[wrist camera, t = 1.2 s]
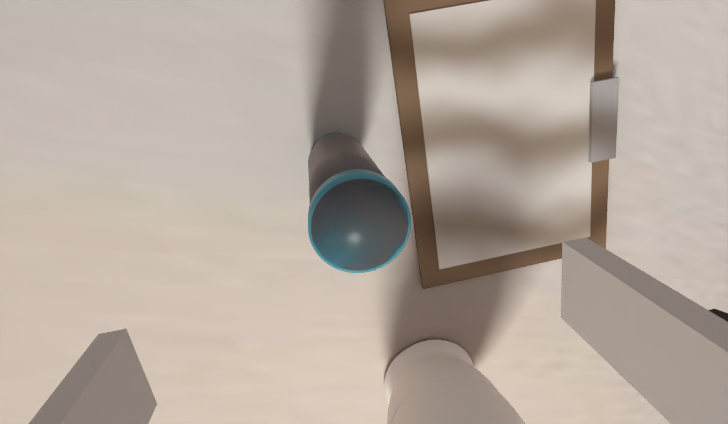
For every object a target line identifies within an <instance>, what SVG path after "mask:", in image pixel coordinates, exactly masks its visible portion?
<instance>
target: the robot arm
mask: <svg viewBox="0 0 728 424" xmlns="http://www.w3.org/2000/svg"><path fill="white" fill-rule="evenodd" d="M561 318H562V319H563V320H564V321H565V322H566V323H567V324H568V325H569V326H571V327H572V328H573V329H574V330H575V331H576V332H577V333H578V334H579V335H580V336H581V337H582V338H583V339H584V340H585V341H586V342H587V343H588V344H589V345H590V346H591V347H592V348H593V349H594V350H595V351H596V352H597V353H598V354H600V355H601V356H602V357H603V358H604V359H605V360H606V361H607V362H608V363H609V364H610V365H611V366H612V367H613V368H614V369H615V370H616V371H617V372H618V373H619V374H620V375H621V376H622V377H623V378H624V379H625V380H626V381H627V382H629V383H630V384H631V385H632V386H633V387H634V388H635V389H636V390H637V391H638V392H639V393H640V394H641V395H642V396H643V397H644V398H645V399H646V400H647V401H648V402H649V403H650V404H651V405H652V406H653V407H654V408H655V409H656V410H658V411H659V412H660V413H661V414H662V415H663V416H664V417H665V418H666V419H667V420H668V421H669V422H670V423H671V424H728V313H725V312H722V311H719V310H717V309H712V310H707V309H705V308H703V307H702V306H700V305H698V304H697V303H695V302H693V301H692V300H690V299H688V298H687V297H685V296H683V295H682V294H680V293H678V292H677V291H675V290H673V289H672V288H670V287H668V286H667V285H665V284H663V283H661V282H660V281H658V280H656V279H655V278H653V277H651V276H650V275H648V274H646V273H645V272H643V271H641V270H640V269H638V268H636V267H635V266H633V265H631V264H630V263H628V262H626V261H625V260H623V259H621V258H620V257H618V256H616V255H615V254H613V253H611V252H610V251H608V250H606V249H604V248H603V247H601V246H599V245H598V244H596V243H594V242H593V241H591V240H589V239H588V238H586V237H585V238H580V239H575V240H570V241H565V242H562V286H561ZM156 405H157V403H156V400H155V398H154V395H153V393H152V390H151V388H150V385H149V383H148V381H147V378H146V376H145V373H144V371H143V368H142V366H141V363H140V361H139V359H138V356H137V354H136V351H135V349H134V346H133V344H132V342H131V339H130V337H129V334H128V332H127V329H123V330H118V331H113V332H107V333H102V334H98V336H97V337H96V338H95V339H94V341H93V342H92V343H91V345H90V346H89V347H88V348H87V350H86V351H85V352H84V354H83V355H82V356H81V357H80V359H79V360H78V361H77V363H76V364H75V365H74V366H73V368H72V369H71V370H70V372H69V373H68V374H67V375H66V377H65V378H64V379H63V381H62V382H61V383H60V384H59V386H58V387H57V388H56V390H55V391H54V392H53V393H52V395H51V396H50V397H49V399H48V400H47V401H46V402H45V404H44V405H43V406H42V408H41V409H40V410H39V411H38V413H37V414H36V415H35V417H34V418H33V419H32V420H31V422H30V423H29V424H148V423H149V421H150V418H151V416H152V414H153V412H154V409H155V407H156Z"/></svg>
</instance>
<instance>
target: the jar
mask: <svg viewBox="0 0 728 424" xmlns="http://www.w3.org/2000/svg"><path fill="white" fill-rule="evenodd" d="M384 391H385V395H386V398H387V400H388V402H389V407H388V418H387V424H525V423H524V421H523V420H522V419H521V417H520V416H519V414H518V413H517V412H516V411H515V409H514V408H513V407H512V406H511V404H510V403H509V402H508V401H507V400H506V399H505V398H504V397H503V396H502V395H501V394H500V393H499V392H498V390H497V389H496V388H495V387H494V385H493V384H492V383H491V382H490V381H489V380H488V379H487V378H486V377H485V376H484V375H483V374H482V373H481V372H480V371H479V370H477V369H476V368H475V367H474V366H473V362H472V360H471V358H470V356H469V355H468V353H467V352H466V351H465V350H464V349H463V348H461V347H460V346H458V345H457V344H455V343H452V342H450V341H445V340H427V341H422V342H419V343H416V344H414V345H412V346H410V347H408V348H406V349H405V350H404V351H402V352H401V353H400V354H399V355H398V356H397V357H396V358H395V359H394V360H393V361H392V363H391V364H390V366H389V368H388V370H387V372H386V375H385V380H384Z"/></svg>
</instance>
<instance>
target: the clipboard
mask: <svg viewBox="0 0 728 424" xmlns="http://www.w3.org/2000/svg"><path fill="white" fill-rule="evenodd" d="M383 1H384V8H385V15H386V23H387V30H388V38H389V45H390V52H391V60H392V67H393V74H394V82H395V89H396V97H397V104H398V111H399V119H400V126H401V133H402V141H403V148H404V156H405V163H406V170H407V178H408V185H409V193H410V200H411V207H412V215H413V222H414V229H415V237H416V244H417V252H418V259H419V266H420V274H421V281H422V287H423V289H425V288H429V287H434V286H438V285H443V284H448V283H452V282H457V281H461V280H466V279H470V278H475V277H479V276H484V275H488V274H493V273H497V272H502V271H506V270H511V269H515V268H520V267H524V266H529V265H533V264H538V263H542V262H547V261H551V260H556V259H560V258H562V242H565V241H570V240H575V239H580V238H585V237H586V238H588V239H589V240H591V241H593V242H594V243H596V244H598V245H599V246H601V247H603V248H604V249H606V224H607V198H608V172H609V159H612V158H616V135H617V112H618V90H619V77H612V68H613V42H614V16H615V0H383Z"/></svg>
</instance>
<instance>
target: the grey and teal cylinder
mask: <svg viewBox="0 0 728 424" xmlns="http://www.w3.org/2000/svg"><path fill="white" fill-rule="evenodd" d="M308 169H309V194H310V206H309V211H308V231H309V237H310V241H311V244H312V246H313V248H314V250H315V251H316V253H317V254H318V255H319V256H320V258H321V259H322V260H324V261H325V262H326V263H327V264H329V265H330V266H332V267H334V268H336V269H338V270H341V271H345V272H350V273H364V272H370V271H373V270H376V269H379V268H381V267H383V266H385V265H386V264H388V263H389V262H391V261H392V260H393V259H394V258H395V257H396V256H397V255H398V254H399V253H400V252H401V250H402V249H403V247H404V246H405V244H406V242H407V240H408V237H409V233H410V228H411V216H410V211H409V208H408V205H407V203H406V201H405V199H404V198H403V196H402V195H401V193H400V192H399V191H398V190H397V188H396V187H395V186H394V185H393V184H392V183H391V182H390V181H389V180H388V179H387V178H386V177H385V176H384V175H383V174H382V172H381V171H380V170H379V168H378V167H377V166H376V164H375V163H374V162H373V160H372V159H371V158H370V156H369V155H368V154H367V152H366V151H365V150H364V148H363V147H362V146H361V144H360V143H359V142H358V141H356V140H355V139H354V138H352V137H350V136H347V135H345V134H342V133H330V134H327V135H325V136H323V137H321V138H320V139H319V140H318V141H317V142H316V143H315V145H314V147H313V148H312V150H311V152H310V155H309V160H308Z"/></svg>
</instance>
